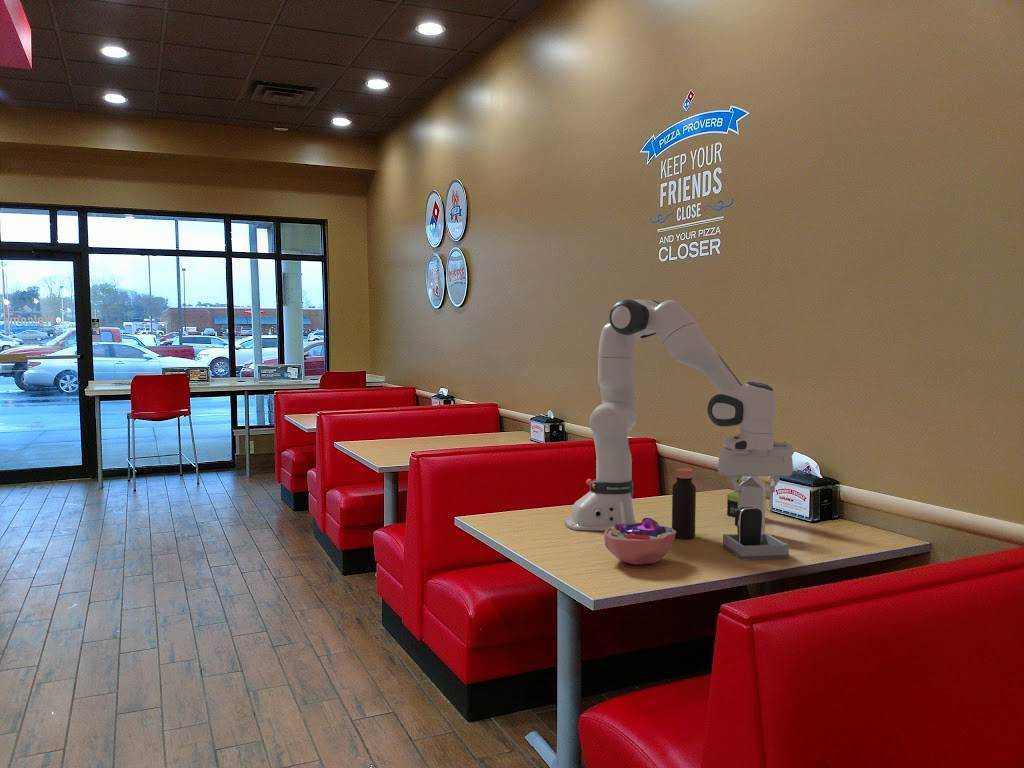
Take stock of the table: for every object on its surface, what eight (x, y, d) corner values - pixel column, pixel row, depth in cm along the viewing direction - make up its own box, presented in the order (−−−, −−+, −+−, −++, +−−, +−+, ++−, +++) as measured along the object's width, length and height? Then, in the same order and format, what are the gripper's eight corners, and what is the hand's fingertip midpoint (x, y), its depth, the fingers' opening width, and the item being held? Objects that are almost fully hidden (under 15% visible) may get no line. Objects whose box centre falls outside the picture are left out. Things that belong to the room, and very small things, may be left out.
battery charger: (752, 545, 209) (754, 505, 209) (761, 549, 206) (763, 508, 205) (731, 547, 207) (733, 506, 206) (740, 551, 203) (742, 509, 203)
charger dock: (741, 560, 199) (742, 545, 199) (722, 546, 212) (722, 533, 212) (788, 558, 201) (789, 544, 200) (767, 545, 214) (767, 531, 213)
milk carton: (764, 533, 227) (766, 470, 226) (762, 538, 220) (763, 474, 219) (740, 530, 230) (741, 469, 229) (737, 536, 223) (738, 472, 222)
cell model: (589, 559, 200) (589, 517, 200) (648, 548, 210) (648, 508, 209) (629, 576, 186) (629, 531, 185) (690, 564, 195) (690, 521, 195)
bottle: (682, 540, 218) (683, 472, 217) (666, 535, 224) (667, 468, 223) (700, 537, 221) (701, 470, 220) (684, 532, 227) (685, 467, 226)
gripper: (787, 440, 209) (785, 489, 210) (716, 439, 207) (714, 489, 208) (798, 444, 203) (796, 494, 204) (725, 443, 200) (723, 494, 201)
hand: (754, 492), depth 206 cm, fingers open, 8 cm apart
